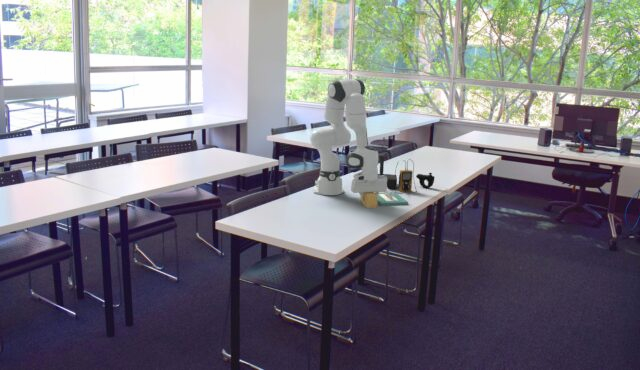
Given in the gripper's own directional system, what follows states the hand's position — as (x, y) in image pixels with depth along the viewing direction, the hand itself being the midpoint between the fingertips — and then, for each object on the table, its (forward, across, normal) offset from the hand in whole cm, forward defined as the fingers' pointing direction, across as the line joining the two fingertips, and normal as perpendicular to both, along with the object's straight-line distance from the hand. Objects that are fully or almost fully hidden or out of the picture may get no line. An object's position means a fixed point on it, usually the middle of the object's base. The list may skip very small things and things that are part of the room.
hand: (368, 199), depth 322 cm
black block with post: (+3, -21, -41) cm, 46 cm away
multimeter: (+3, -31, -21) cm, 38 cm away
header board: (+3, -14, -7) cm, 16 cm away
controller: (+3, -47, -32) cm, 57 cm away
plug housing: (+3, 0, 0) cm, 3 cm away
